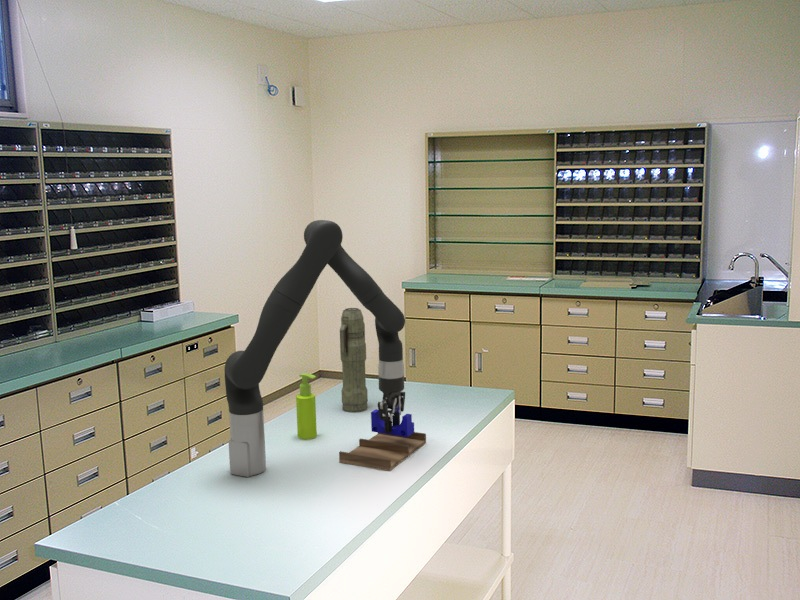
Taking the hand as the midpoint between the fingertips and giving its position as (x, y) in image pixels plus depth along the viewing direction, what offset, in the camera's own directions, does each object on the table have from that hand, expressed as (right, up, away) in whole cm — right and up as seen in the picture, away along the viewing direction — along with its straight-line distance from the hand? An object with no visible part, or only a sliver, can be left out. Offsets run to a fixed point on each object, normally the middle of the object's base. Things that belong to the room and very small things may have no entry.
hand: (392, 429), depth 232 cm
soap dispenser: (-26, -4, +11) cm, 29 cm away
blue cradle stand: (0, -1, 0) cm, 1 cm away
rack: (-2, -6, -4) cm, 8 cm away
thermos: (-13, +1, +38) cm, 41 cm away
